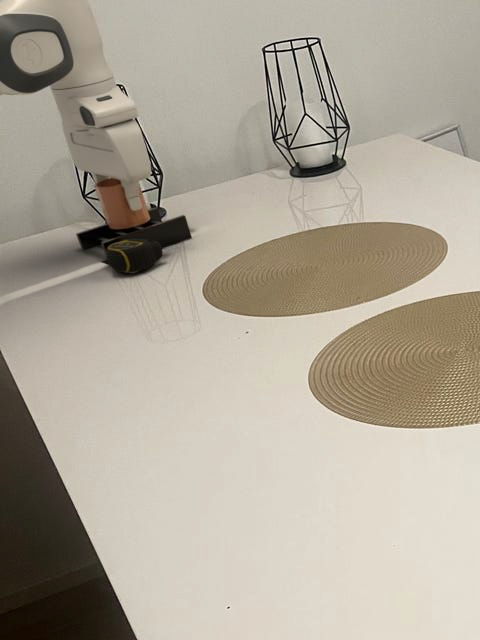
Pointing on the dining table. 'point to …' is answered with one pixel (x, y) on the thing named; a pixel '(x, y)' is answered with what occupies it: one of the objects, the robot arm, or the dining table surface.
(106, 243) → the rack
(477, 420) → the dining table surface
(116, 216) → the pot
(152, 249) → the tape measure
